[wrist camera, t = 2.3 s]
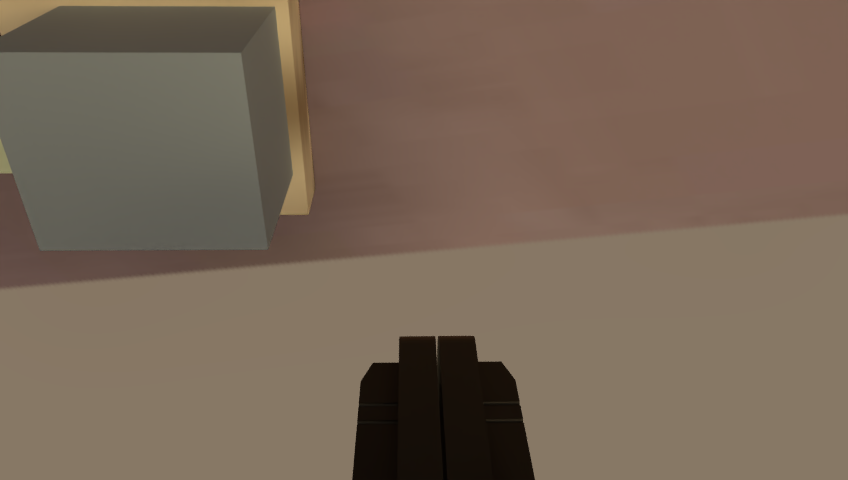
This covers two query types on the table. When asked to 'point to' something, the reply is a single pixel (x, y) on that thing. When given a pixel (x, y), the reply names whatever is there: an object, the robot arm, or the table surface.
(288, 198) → the block
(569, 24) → the table surface
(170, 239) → the box
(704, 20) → the table surface
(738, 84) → the table surface
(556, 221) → the table surface
